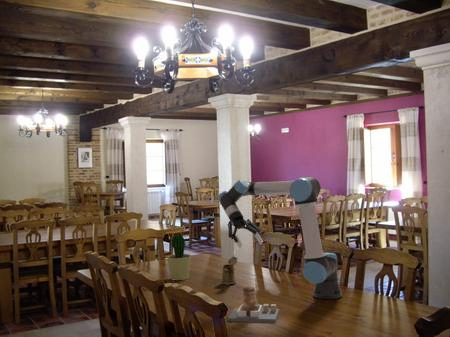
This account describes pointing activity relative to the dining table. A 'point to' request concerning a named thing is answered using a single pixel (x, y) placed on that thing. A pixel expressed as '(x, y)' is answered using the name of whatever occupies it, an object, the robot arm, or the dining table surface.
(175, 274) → the potted cactus
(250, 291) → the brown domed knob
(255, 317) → the board
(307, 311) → the dining table surface
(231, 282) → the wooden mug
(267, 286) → the dining table surface
